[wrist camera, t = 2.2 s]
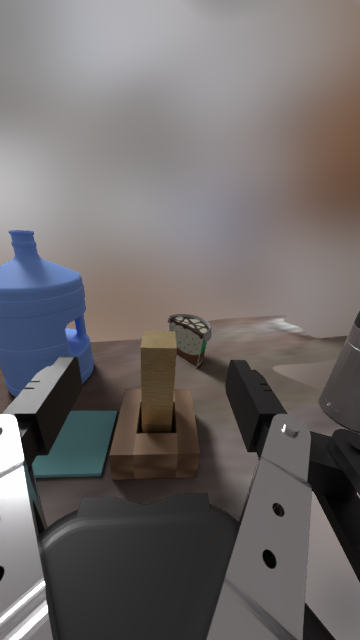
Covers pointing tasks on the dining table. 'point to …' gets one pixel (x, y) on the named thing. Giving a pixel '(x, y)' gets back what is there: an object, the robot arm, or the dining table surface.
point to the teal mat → (78, 446)
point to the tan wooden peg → (157, 380)
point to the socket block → (155, 441)
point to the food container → (190, 337)
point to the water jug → (39, 315)
